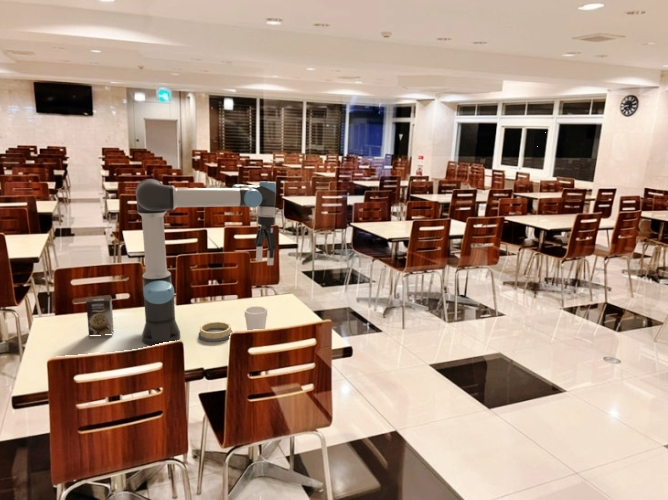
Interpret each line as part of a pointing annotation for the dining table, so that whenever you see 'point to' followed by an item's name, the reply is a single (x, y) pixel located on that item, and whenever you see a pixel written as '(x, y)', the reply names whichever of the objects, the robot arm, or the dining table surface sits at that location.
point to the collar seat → (215, 331)
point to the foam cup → (255, 317)
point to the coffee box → (100, 316)
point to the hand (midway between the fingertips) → (264, 262)
